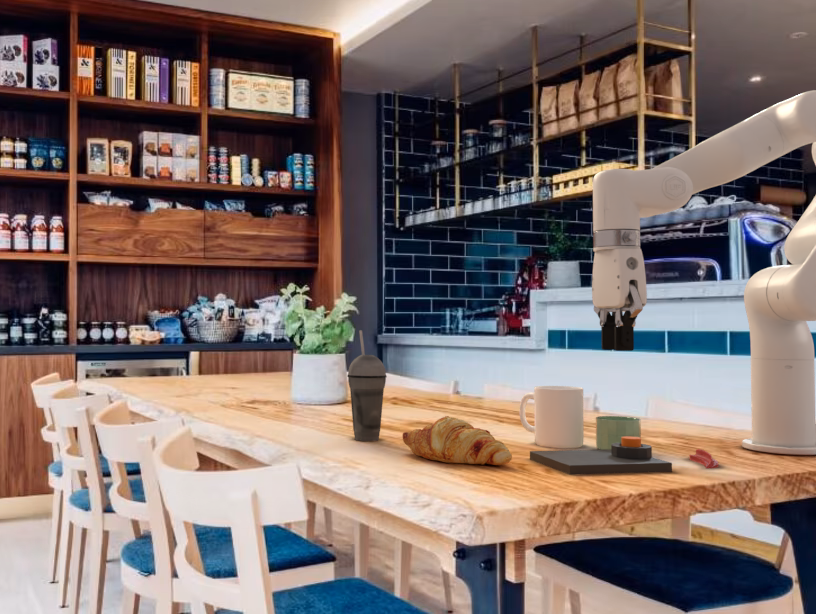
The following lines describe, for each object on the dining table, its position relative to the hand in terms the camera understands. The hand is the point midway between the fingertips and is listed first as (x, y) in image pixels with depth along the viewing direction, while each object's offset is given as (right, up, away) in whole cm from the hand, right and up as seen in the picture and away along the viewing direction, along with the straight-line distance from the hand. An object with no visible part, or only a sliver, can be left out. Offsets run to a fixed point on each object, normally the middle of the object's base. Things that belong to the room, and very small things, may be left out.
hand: (617, 349), depth 141 cm
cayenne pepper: (+9, -17, -12) cm, 23 cm away
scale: (-9, -17, -15) cm, 24 cm away
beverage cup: (-42, -18, +11) cm, 47 cm away
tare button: (-3, -14, -14) cm, 20 cm away
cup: (-9, -18, +7) cm, 21 cm away
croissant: (-30, -17, -11) cm, 36 cm away
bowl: (0, -17, -1) cm, 17 cm away
